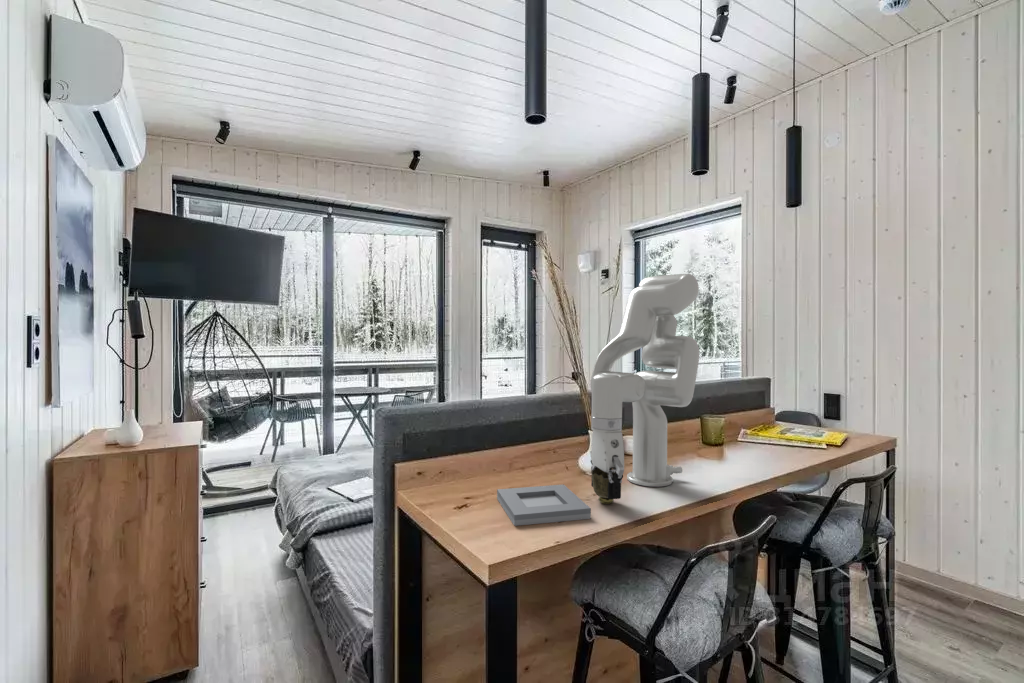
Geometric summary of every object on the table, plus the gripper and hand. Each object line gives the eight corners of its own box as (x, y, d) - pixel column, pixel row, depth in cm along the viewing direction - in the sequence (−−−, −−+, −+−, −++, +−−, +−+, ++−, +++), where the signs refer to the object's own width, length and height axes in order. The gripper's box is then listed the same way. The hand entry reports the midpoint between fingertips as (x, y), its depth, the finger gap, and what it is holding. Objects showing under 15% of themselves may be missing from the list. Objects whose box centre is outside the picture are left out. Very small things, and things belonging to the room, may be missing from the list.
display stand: (563, 493, 129) (563, 484, 129) (590, 518, 112) (590, 508, 112) (497, 498, 125) (497, 489, 125) (514, 525, 107) (514, 515, 107)
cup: (622, 499, 125) (622, 468, 125) (620, 509, 118) (620, 476, 118) (592, 496, 127) (592, 465, 127) (589, 506, 120) (589, 473, 120)
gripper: (637, 429, 114) (636, 502, 114) (605, 417, 131) (604, 481, 131) (607, 431, 112) (606, 505, 113) (579, 418, 129) (578, 483, 129)
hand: (605, 492), depth 122 cm, fingers open, 9 cm apart
